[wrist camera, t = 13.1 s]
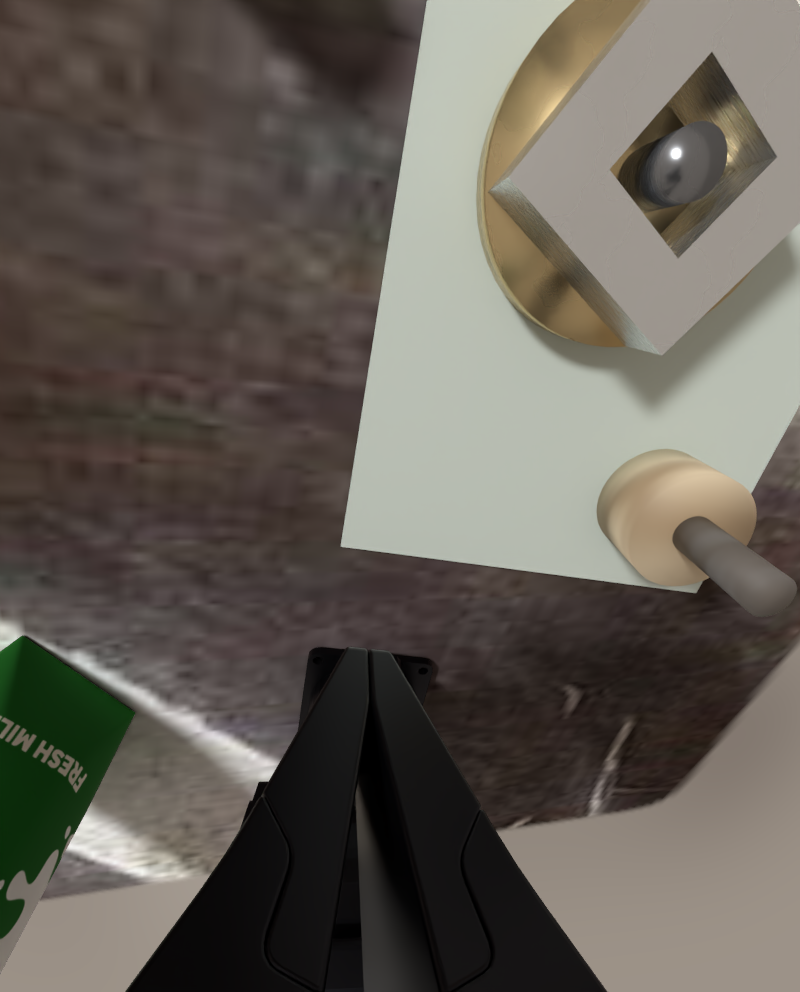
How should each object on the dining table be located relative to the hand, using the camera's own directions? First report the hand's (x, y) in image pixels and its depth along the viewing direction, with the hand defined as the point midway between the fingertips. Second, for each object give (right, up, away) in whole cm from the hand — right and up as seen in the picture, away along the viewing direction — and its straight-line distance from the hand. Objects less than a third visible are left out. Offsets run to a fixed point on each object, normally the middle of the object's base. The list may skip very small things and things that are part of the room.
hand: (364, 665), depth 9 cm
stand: (+12, +3, +12) cm, 17 cm away
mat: (+9, +9, +9) cm, 16 cm away
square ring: (+8, +13, +6) cm, 16 cm away
